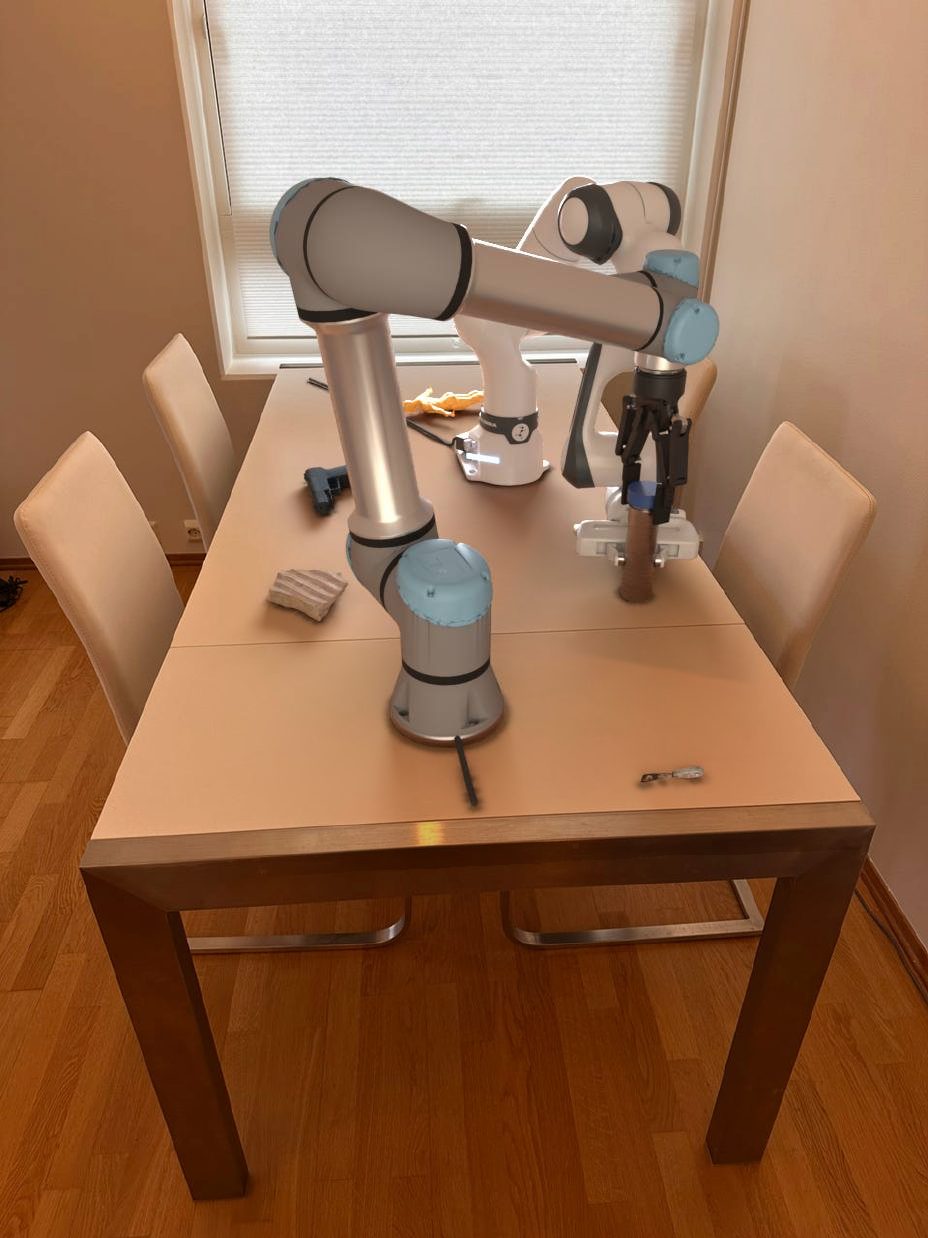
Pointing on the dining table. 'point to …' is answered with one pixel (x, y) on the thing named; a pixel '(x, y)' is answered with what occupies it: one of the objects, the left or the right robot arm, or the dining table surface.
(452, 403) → the human figure
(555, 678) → the dining table surface
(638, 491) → the lid
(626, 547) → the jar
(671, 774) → the putty knife
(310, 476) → the handgun
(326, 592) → the stone
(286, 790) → the dining table surface
